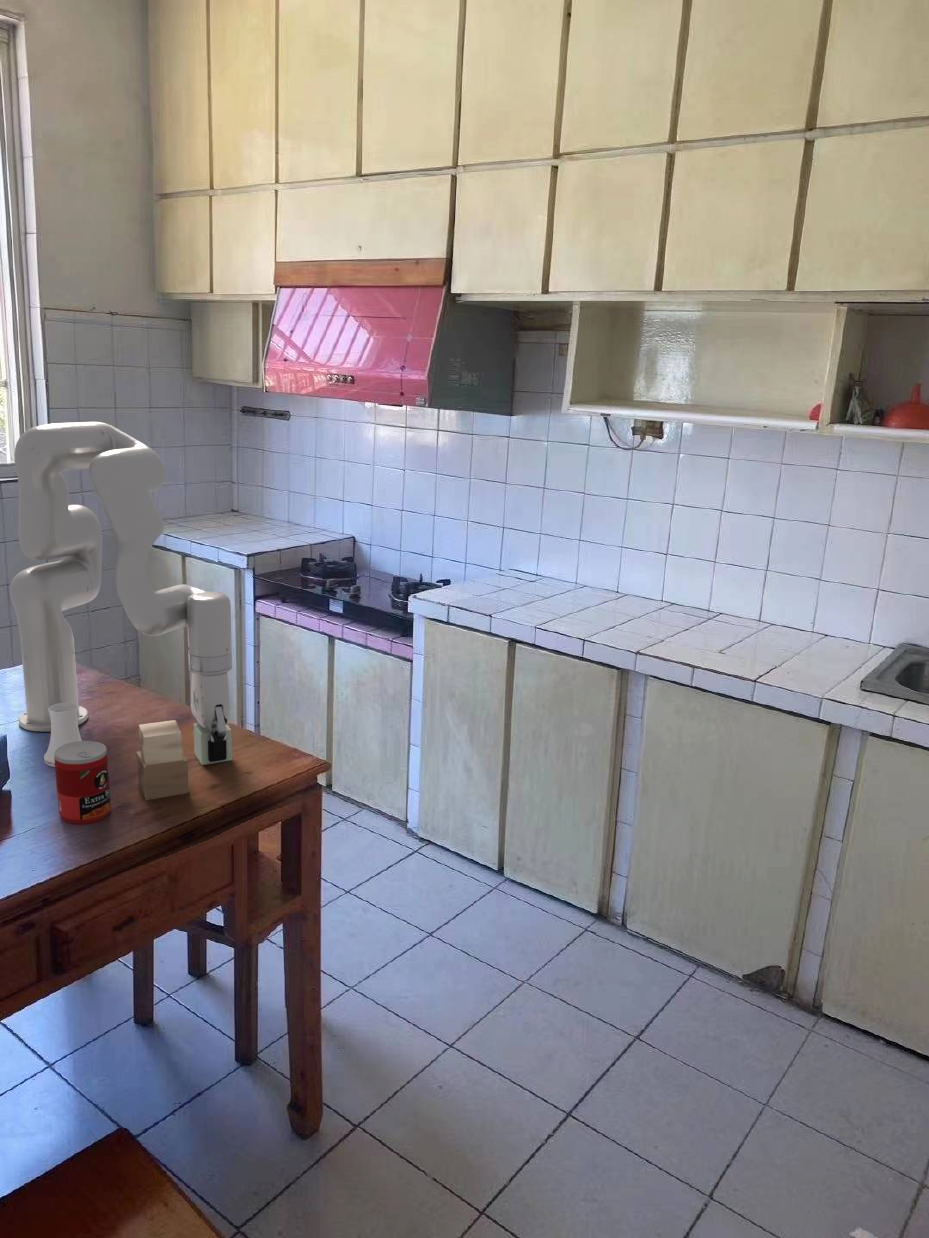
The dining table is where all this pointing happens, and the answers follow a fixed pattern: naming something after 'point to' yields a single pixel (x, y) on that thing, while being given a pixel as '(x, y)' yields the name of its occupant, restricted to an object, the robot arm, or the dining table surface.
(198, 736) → the sage block
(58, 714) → the vase
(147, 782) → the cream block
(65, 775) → the canned food
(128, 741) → the dining table surface
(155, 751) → the beech block
